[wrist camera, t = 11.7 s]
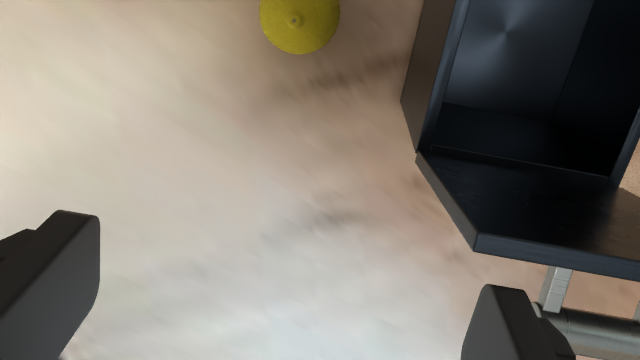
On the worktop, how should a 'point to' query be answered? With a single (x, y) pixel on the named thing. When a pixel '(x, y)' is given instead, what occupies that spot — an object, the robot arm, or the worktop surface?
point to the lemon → (299, 23)
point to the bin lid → (549, 238)
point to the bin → (528, 84)
